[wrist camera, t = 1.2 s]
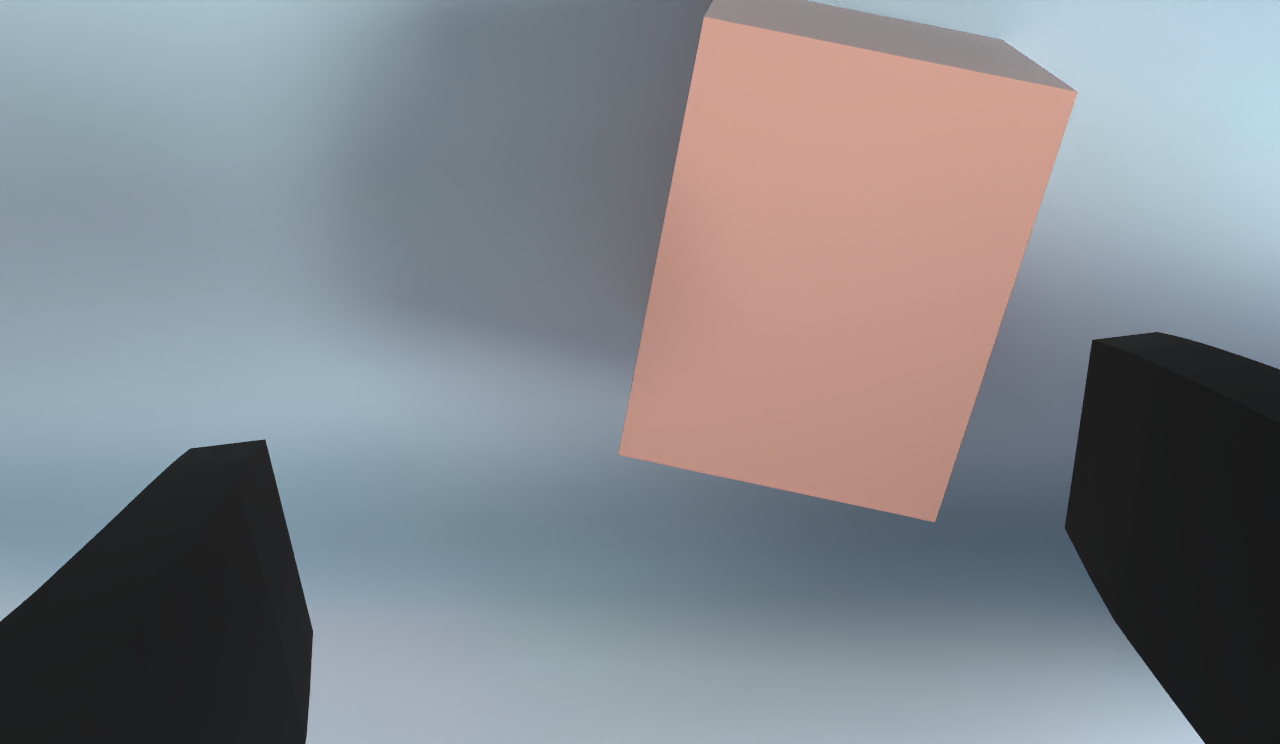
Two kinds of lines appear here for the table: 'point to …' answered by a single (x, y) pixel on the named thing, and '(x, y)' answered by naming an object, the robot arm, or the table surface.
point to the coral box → (838, 250)
